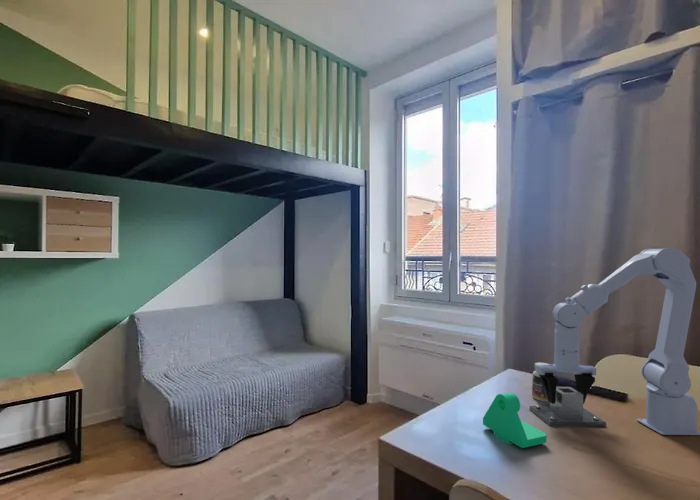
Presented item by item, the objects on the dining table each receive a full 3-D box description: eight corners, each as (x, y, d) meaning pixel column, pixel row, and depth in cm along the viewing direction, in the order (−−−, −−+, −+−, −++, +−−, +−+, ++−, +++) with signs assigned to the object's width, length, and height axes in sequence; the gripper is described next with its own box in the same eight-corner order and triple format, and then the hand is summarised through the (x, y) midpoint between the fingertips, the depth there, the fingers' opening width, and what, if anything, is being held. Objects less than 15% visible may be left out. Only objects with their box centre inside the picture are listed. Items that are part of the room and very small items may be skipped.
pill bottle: (527, 396, 115) (528, 362, 115) (543, 394, 116) (543, 361, 116) (542, 403, 109) (543, 368, 109) (558, 401, 111) (559, 366, 111)
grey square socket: (570, 409, 102) (570, 386, 102) (582, 418, 97) (583, 394, 97) (550, 409, 102) (550, 386, 102) (561, 418, 97) (562, 394, 97)
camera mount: (548, 447, 84) (549, 400, 84) (522, 453, 82) (522, 404, 82) (507, 424, 96) (508, 382, 96) (482, 428, 93) (483, 386, 93)
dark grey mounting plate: (580, 409, 105) (580, 387, 105) (605, 426, 95) (606, 401, 95) (529, 409, 104) (529, 387, 104) (549, 426, 94) (550, 401, 94)
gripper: (547, 353, 96) (546, 408, 95) (604, 353, 96) (604, 408, 96) (533, 346, 103) (532, 397, 102) (586, 347, 103) (585, 397, 103)
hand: (566, 402), depth 100 cm, fingers open, 7 cm apart
